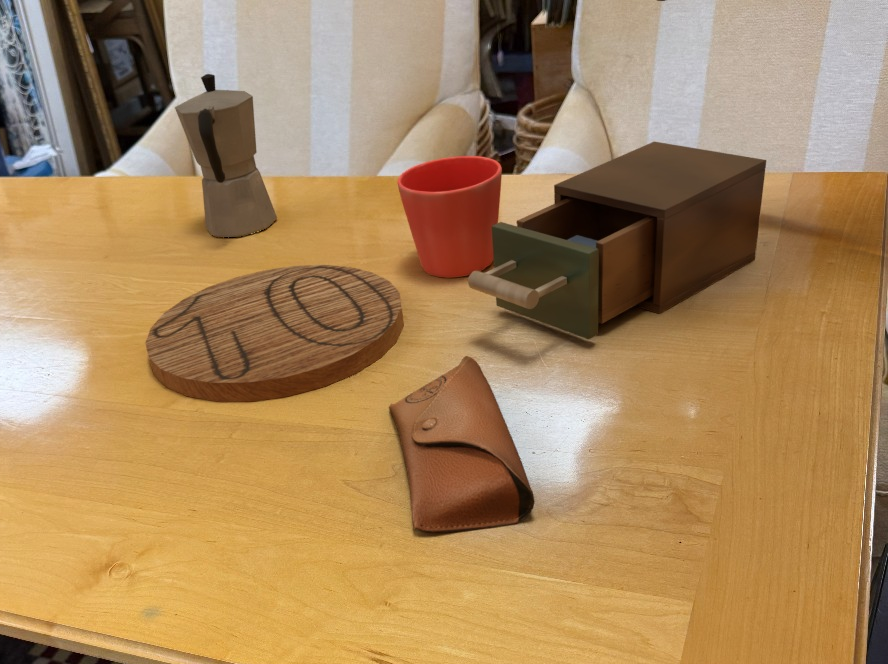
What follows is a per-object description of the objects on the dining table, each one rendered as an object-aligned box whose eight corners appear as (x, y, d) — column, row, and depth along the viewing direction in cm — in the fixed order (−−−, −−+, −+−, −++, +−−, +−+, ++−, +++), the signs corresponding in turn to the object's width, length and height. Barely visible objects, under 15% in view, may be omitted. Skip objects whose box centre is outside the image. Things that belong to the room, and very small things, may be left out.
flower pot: (392, 283, 96) (379, 191, 90) (428, 242, 103) (419, 155, 98) (488, 287, 92) (482, 191, 86) (519, 244, 99) (515, 154, 94)
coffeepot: (213, 212, 122) (177, 67, 111) (282, 202, 121) (252, 56, 111) (195, 256, 110) (153, 98, 99) (272, 246, 109) (237, 86, 98)
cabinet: (659, 314, 82) (665, 210, 77) (555, 281, 91) (553, 184, 85) (755, 259, 89) (766, 159, 83) (650, 233, 97) (653, 141, 92)
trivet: (188, 433, 76) (182, 414, 75) (126, 328, 95) (121, 311, 94) (450, 343, 83) (448, 324, 82) (344, 261, 102) (341, 245, 101)
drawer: (547, 363, 76) (544, 275, 71) (455, 326, 84) (448, 244, 79) (687, 285, 84) (693, 201, 80) (592, 257, 92) (592, 180, 87)
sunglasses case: (381, 402, 75) (414, 332, 72) (456, 426, 77) (491, 359, 74) (413, 536, 61) (456, 456, 57) (504, 560, 63) (551, 485, 60)
